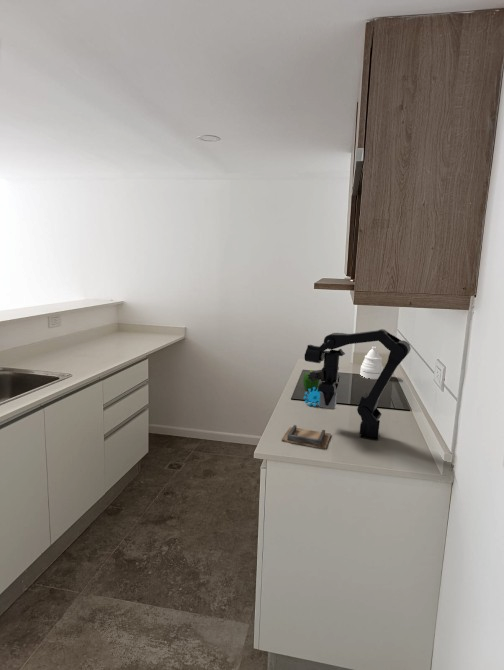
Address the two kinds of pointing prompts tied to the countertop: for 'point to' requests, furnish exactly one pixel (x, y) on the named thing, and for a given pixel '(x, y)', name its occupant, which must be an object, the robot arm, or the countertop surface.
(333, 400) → the block
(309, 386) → the bell pepper
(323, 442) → the dock
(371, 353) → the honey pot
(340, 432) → the countertop surface
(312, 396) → the blue splash shape
